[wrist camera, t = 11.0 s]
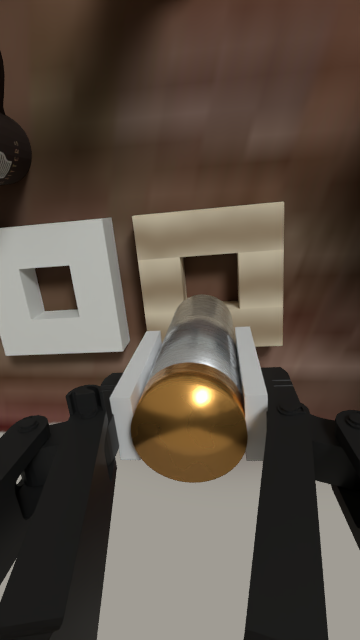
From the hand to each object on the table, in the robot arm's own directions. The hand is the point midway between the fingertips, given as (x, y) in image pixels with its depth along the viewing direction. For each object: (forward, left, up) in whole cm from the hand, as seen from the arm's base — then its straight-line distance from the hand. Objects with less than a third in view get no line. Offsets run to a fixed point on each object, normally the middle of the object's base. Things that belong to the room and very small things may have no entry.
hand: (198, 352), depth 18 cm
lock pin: (0, 0, -5) cm, 5 cm away
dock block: (0, 0, -19) cm, 19 cm away
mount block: (0, -17, -19) cm, 25 cm away
